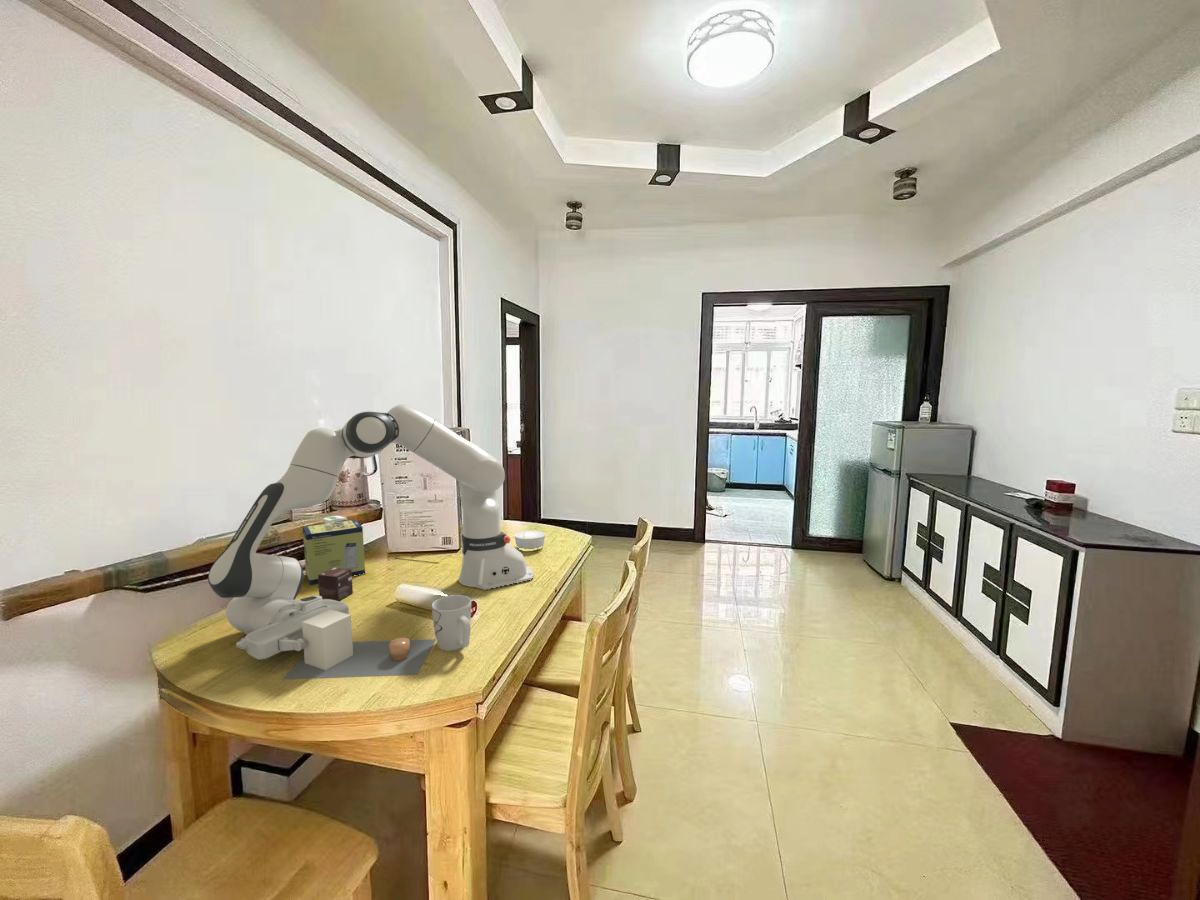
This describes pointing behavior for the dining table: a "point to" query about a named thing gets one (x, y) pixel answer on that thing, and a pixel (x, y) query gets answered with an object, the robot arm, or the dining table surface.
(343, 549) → the protein box
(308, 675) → the slate mat
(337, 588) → the box
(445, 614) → the mug
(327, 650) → the white upright block
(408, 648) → the orange-brown rounded lump
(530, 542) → the ramekin
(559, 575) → the dining table surface
